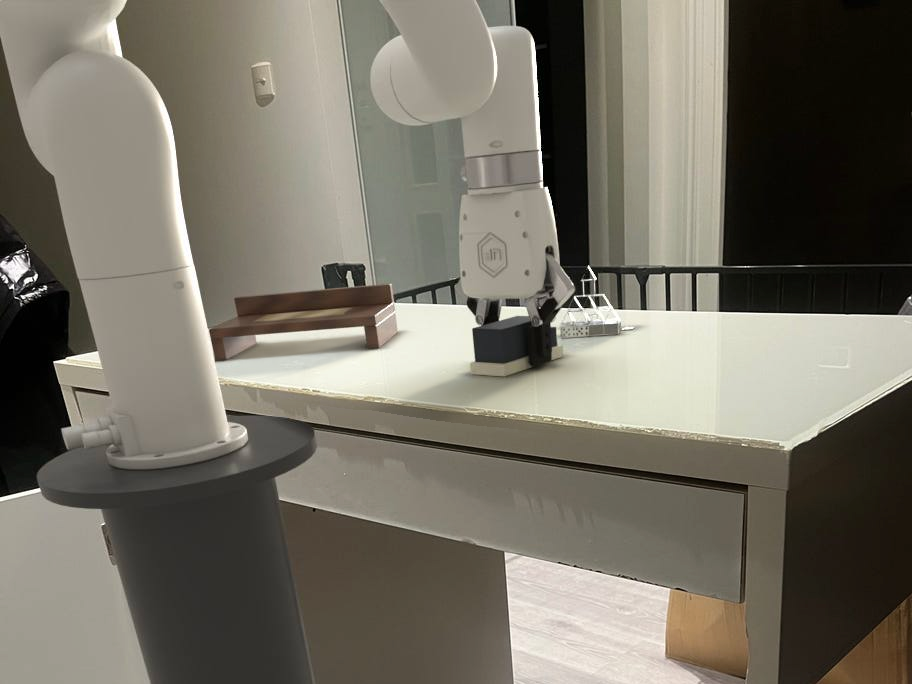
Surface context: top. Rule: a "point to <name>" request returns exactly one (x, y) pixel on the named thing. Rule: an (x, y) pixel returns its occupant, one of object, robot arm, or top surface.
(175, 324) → the robot arm
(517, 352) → the stepped dark grey block
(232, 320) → the wooden bench
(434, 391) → the top surface
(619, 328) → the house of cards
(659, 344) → the top surface
